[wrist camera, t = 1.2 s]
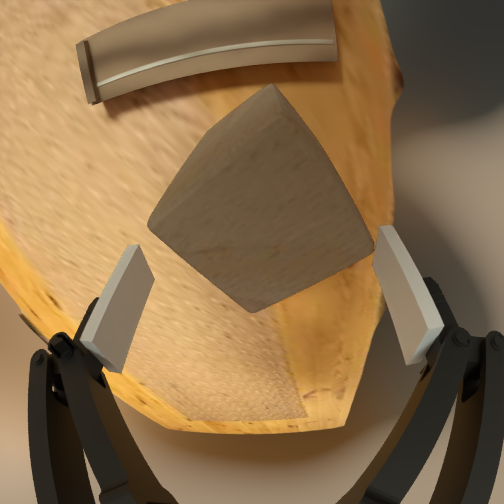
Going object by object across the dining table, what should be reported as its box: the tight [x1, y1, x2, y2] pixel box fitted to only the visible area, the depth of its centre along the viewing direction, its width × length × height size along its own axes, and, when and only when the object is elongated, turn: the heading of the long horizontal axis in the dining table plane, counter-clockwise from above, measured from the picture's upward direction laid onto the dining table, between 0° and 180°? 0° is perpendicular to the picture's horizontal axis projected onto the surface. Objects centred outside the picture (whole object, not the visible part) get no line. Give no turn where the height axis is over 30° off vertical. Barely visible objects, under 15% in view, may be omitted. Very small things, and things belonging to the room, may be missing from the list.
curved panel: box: [76, 0, 338, 106], centre depth 21 cm, size 9×28×4 cm, turn 97°
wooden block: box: [147, 84, 374, 313], centre depth 23 cm, size 10×10×20 cm
